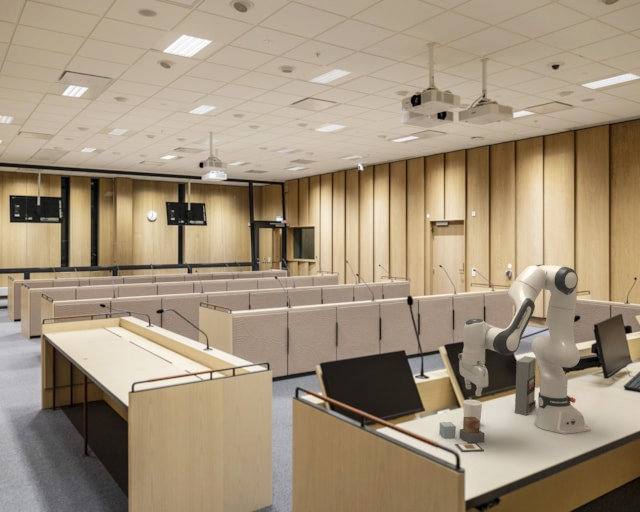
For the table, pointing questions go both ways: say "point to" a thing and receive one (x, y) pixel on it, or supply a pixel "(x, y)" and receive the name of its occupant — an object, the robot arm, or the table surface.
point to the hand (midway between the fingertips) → (473, 392)
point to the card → (469, 447)
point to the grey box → (525, 385)
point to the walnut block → (471, 425)
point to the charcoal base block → (472, 437)
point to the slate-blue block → (447, 430)
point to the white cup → (472, 408)
